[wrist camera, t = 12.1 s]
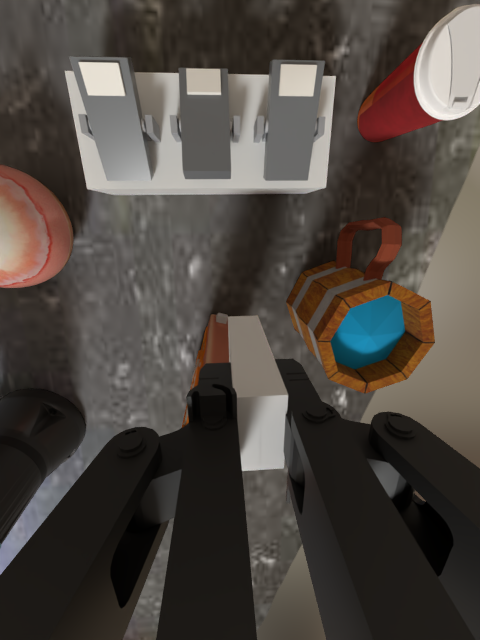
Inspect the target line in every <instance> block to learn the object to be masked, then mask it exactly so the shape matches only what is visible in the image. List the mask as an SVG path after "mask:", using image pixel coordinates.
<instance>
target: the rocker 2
mask: <svg viewBox="0 0 480 640" xmlns="http://www.w3.org/2000/svg"><path fill="white" fill-rule="evenodd" d="M179 92H180V116H181V119H179V128H180V132H181V141H182V166H183V174H184V177H185V179H231V149H230V133H232V120H231V119H230V118H229V87H228V69H219V68H179Z"/></svg>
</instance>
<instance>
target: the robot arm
mask: <svg viewBox="0 0 480 640" xmlns="http://www.w3.org/2000/svg"><path fill="white" fill-rule="evenodd" d="M228 337H229V362H227V363H206V364H205V365H204V366H203V367H202V368H201V369H200V372H199V380H198V385H197V386H195V387H194V388H192V389H191V390H190V391H189V393H188V395H187V397H186V398H187V408H188V418H189V423H188V424H187V425H185V426H184V427H183V428H181V429H179V430H177V431H175V432H172V433H170V434H166V435H163V436H160V437H159V436H158V434H157V433H156V432H155V431H154V430H153V429H150V428H146V427H135V428H131V429H128V430H125V431H123V432H121V433H119V434H117V435H116V436H114V437H113V438H112V439H111V440H110V441H109V442H108V443H107V444H106V445H105V446H104V448H103V449H102V450H101V451H100V453H99V454H98V455H97V456H96V458H95V459H94V460H93V461H92V463H91V464H90V465H89V466H88V467H87V469H86V470H85V471H84V472H83V474H82V475H81V476H80V477H79V479H78V480H77V481H76V482H75V484H74V485H73V486H72V487H71V488H70V490H69V491H68V492H67V493H66V495H65V496H64V497H63V498H62V500H61V501H60V502H59V503H58V505H57V506H56V507H55V508H54V510H53V511H52V512H51V513H50V514H49V516H48V517H47V518H46V519H45V521H44V522H43V523H42V524H41V526H40V527H39V528H38V529H37V531H36V532H35V533H34V534H33V535H32V537H31V538H30V539H29V540H28V542H27V543H26V544H25V545H24V547H23V548H22V549H21V550H20V552H19V553H18V554H17V555H16V557H15V558H14V559H13V560H12V561H11V563H10V564H9V565H8V566H7V568H6V569H5V570H4V571H3V573H2V574H1V575H0V640H123V637H124V635H125V632H126V629H127V627H128V624H129V622H130V619H131V617H132V614H133V612H134V609H135V607H136V604H137V602H138V599H139V597H140V594H141V592H142V589H143V587H144V584H145V581H146V579H147V576H148V574H149V571H150V569H151V566H152V564H153V561H154V559H155V556H156V554H157V551H158V549H159V546H160V544H161V541H162V539H163V536H164V533H165V531H166V528H167V526H168V523H169V520H170V519H172V518H174V525H173V531H172V538H171V545H170V551H169V558H168V565H167V571H166V578H165V584H164V591H163V598H162V604H161V611H160V618H159V624H158V631H157V638H156V640H257V635H256V623H255V612H254V601H253V590H252V578H251V567H250V556H249V545H248V534H247V522H246V511H245V500H244V489H243V477H242V471H250V470H265V469H280V468H284V457H285V460H286V463H287V467H288V477H287V491H286V503H290V498H291V500H292V504H293V508H294V512H295V516H296V520H297V524H298V528H299V532H300V536H301V540H302V544H303V548H304V552H305V556H306V560H307V563H308V568H309V572H310V576H311V580H312V584H313V587H314V591H315V596H316V600H317V603H318V608H319V612H320V615H321V620H322V624H323V628H324V632H325V635H326V640H480V469H479V468H478V467H477V466H476V465H474V464H473V463H471V462H470V461H469V460H468V459H466V458H465V457H464V456H462V455H461V454H460V453H458V452H457V451H456V450H454V449H453V448H452V447H450V446H449V445H448V444H446V443H445V442H444V441H442V440H441V439H440V438H438V437H437V436H436V435H434V434H433V433H432V432H430V431H429V430H428V429H427V428H425V427H424V426H422V425H421V424H420V423H418V422H417V421H415V420H413V419H412V418H410V417H407V416H405V415H402V414H399V413H393V412H381V413H378V414H376V415H374V417H373V419H372V422H371V424H365V423H359V422H354V421H349V420H345V419H343V418H341V416H340V414H339V413H338V412H337V411H336V410H335V409H334V408H333V407H332V406H330V405H328V404H327V403H324V402H322V401H321V399H320V397H319V396H318V394H317V392H316V390H315V388H314V387H313V385H312V383H311V381H310V380H309V378H308V376H307V374H306V372H305V370H304V369H303V367H302V365H301V364H300V363H298V362H297V361H295V360H294V359H274V357H273V354H272V351H271V349H270V346H269V344H268V341H267V338H266V336H265V333H264V331H263V328H262V325H261V323H260V320H259V318H258V316H230V317H228ZM84 435H85V423H84V420H83V417H82V416H81V414H80V412H79V411H78V410H77V408H76V407H75V406H74V405H73V404H72V403H70V402H69V401H68V400H66V399H65V398H63V397H61V396H59V395H57V394H55V393H52V392H49V391H45V390H40V389H23V390H18V391H14V392H12V393H9V394H8V395H6V396H4V397H3V398H2V399H1V400H0V548H1V544H2V543H3V541H4V540H5V538H6V537H7V535H8V534H9V532H10V531H11V529H12V528H13V526H14V525H15V523H16V522H17V520H18V519H19V517H20V516H21V514H22V513H23V511H24V510H25V508H26V507H27V505H28V504H29V502H30V501H31V499H32V498H33V496H34V495H35V493H36V491H37V490H38V488H39V487H40V485H41V484H42V483H43V481H44V480H45V478H46V477H47V476H49V475H50V474H51V473H52V472H53V471H54V470H55V469H57V468H58V467H59V465H60V464H62V463H63V462H65V461H66V460H68V459H69V458H70V457H71V456H72V455H73V454H74V453H75V452H76V450H77V449H78V447H79V445H80V444H81V442H82V441H83V438H84ZM415 490H416V491H417V492H418V493H419V494H420V495H421V496H422V497H423V498H424V499H425V500H426V502H425V501H422V500H421V499H420V498H418V497H417V496H416V495H415V493H414V492H415Z"/></svg>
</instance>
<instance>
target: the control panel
mask: <svg viewBox="0 0 480 640" xmlns="http://www.w3.org/2000/svg"><path fill="white" fill-rule="evenodd" d="M227 362H229V337H228V315H227V314H222V313H218V314H217V315H214V314H211V316H210V320H209V324H208V327H206V330H205V334H204V338H203V342H202V347H201V350H199V351H198V355H197V359H196V365H195V367H194V371H193V376H192V382H191V387H190V390H191V389H192V388H194V387H195V386H197V385H198V380H199V372H200V369H201V368H202V367H203V366H204V365H205V364H206V363H227ZM188 423H189V418H188V408H187V406H186V410H185V415H184V420H183V424H182V428H183V427H184V426H185V425H187V424H188Z"/></svg>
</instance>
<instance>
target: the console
mask: <svg viewBox="0 0 480 640" xmlns="http://www.w3.org/2000/svg"><path fill="white" fill-rule="evenodd" d="M134 73H135V79H136V84H137V89H138V94H139V100H140V105H141V110H142V115H143V119H144V120H145V124H146V136H147V142H148V147H149V152H150V157H151V163H152V168H153V173H154V176H153V178H152V181H107V179H106V176H105V173H104V169H103V166H102V163H101V160H100V156H99V153H98V150H97V147H96V143H95V140H94V137H93V134H92V131H91V129H90V127H89V123H88V117H87V114H86V111H85V107H84V104H83V101H82V98H81V94H80V91H79V88H78V85H77V81H76V78H75V75H74V72H73V71H65V75H66V80H67V85H68V90H69V96H70V101H71V106H72V112H73V117H74V122H75V127H76V133H77V138H78V143H79V149H80V154H81V159H82V164H83V170H84V175H85V180H86V186H87V189H90V190H94V191H99V192H103V193H108V194H112V195H189V194H306V193H309V192H313V191H316V190H319V189H323V188H326V181H327V170H328V159H329V148H330V136H331V125H332V114H333V103H334V92H335V81H336V76H323V79H322V86H321V93H320V99H319V106H318V113H317V120H316V121H317V128H316V132H315V134H314V141H313V148H312V155H311V162H310V169H309V176H308V181H265V179H264V178H263V176H264V157H265V139H266V133H265V120H267V102H268V84H269V75H250V74H228V87H229V118H230V119H231V120H232V133H230V149H231V179H185V177H184V174H183V166H182V141H181V132H180V128H179V119H181V116H180V92H179V73H147V72H134Z"/></svg>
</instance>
